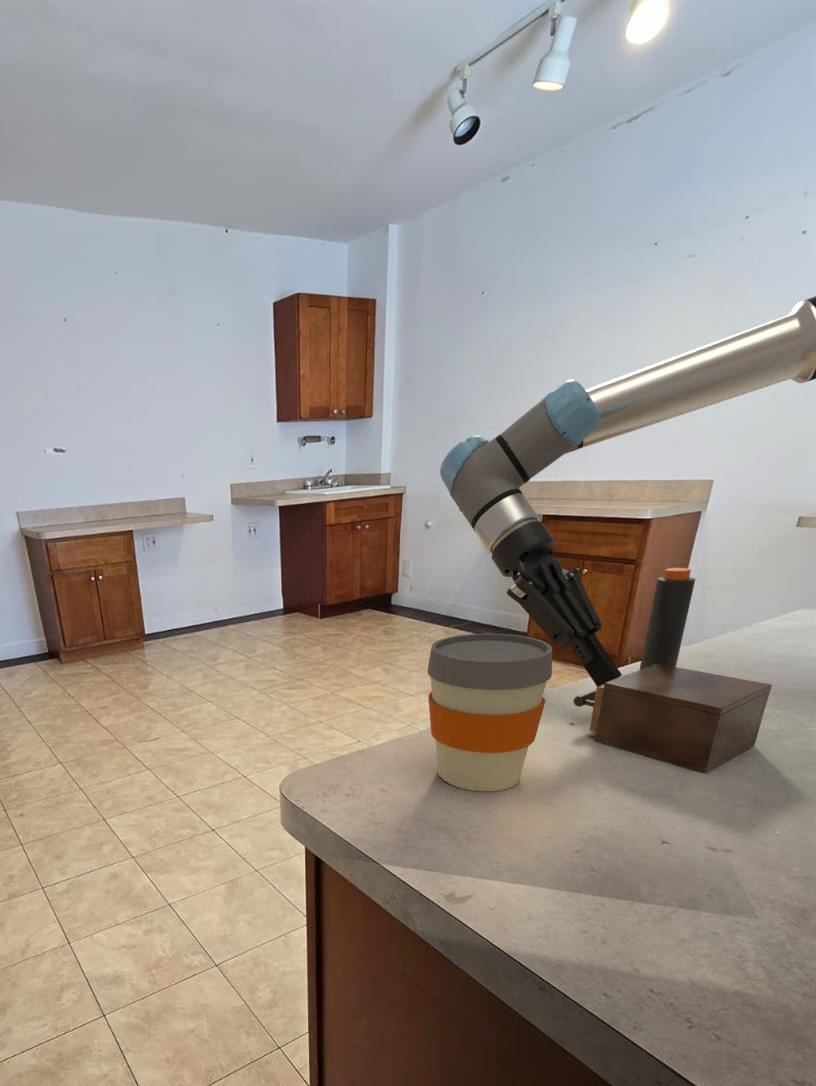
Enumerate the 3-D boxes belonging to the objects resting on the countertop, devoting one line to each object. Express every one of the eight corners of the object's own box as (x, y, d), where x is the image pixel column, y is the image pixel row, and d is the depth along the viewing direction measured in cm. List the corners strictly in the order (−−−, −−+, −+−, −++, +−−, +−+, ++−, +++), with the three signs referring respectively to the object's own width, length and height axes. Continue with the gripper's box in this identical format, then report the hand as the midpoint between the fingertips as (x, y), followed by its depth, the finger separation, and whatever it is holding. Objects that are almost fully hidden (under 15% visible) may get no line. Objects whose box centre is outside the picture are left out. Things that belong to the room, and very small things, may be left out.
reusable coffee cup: (415, 792, 71) (421, 660, 65) (428, 748, 81) (435, 632, 75) (538, 805, 66) (558, 665, 60) (536, 757, 77) (552, 634, 70)
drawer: (560, 722, 84) (566, 680, 81) (606, 704, 89) (613, 663, 86) (687, 758, 72) (698, 709, 69) (731, 734, 76) (744, 688, 74)
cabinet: (594, 740, 80) (604, 682, 77) (644, 718, 85) (656, 663, 82) (705, 773, 70) (722, 708, 67) (754, 746, 75) (772, 684, 72)
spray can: (665, 696, 92) (693, 566, 85) (674, 707, 88) (705, 571, 81) (627, 695, 94) (652, 567, 86) (635, 705, 90) (661, 572, 82)
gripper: (525, 551, 94) (614, 686, 88) (465, 562, 88) (556, 707, 82) (564, 514, 88) (663, 656, 82) (502, 522, 82) (604, 677, 76)
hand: (610, 681), depth 82 cm, fingers closed
